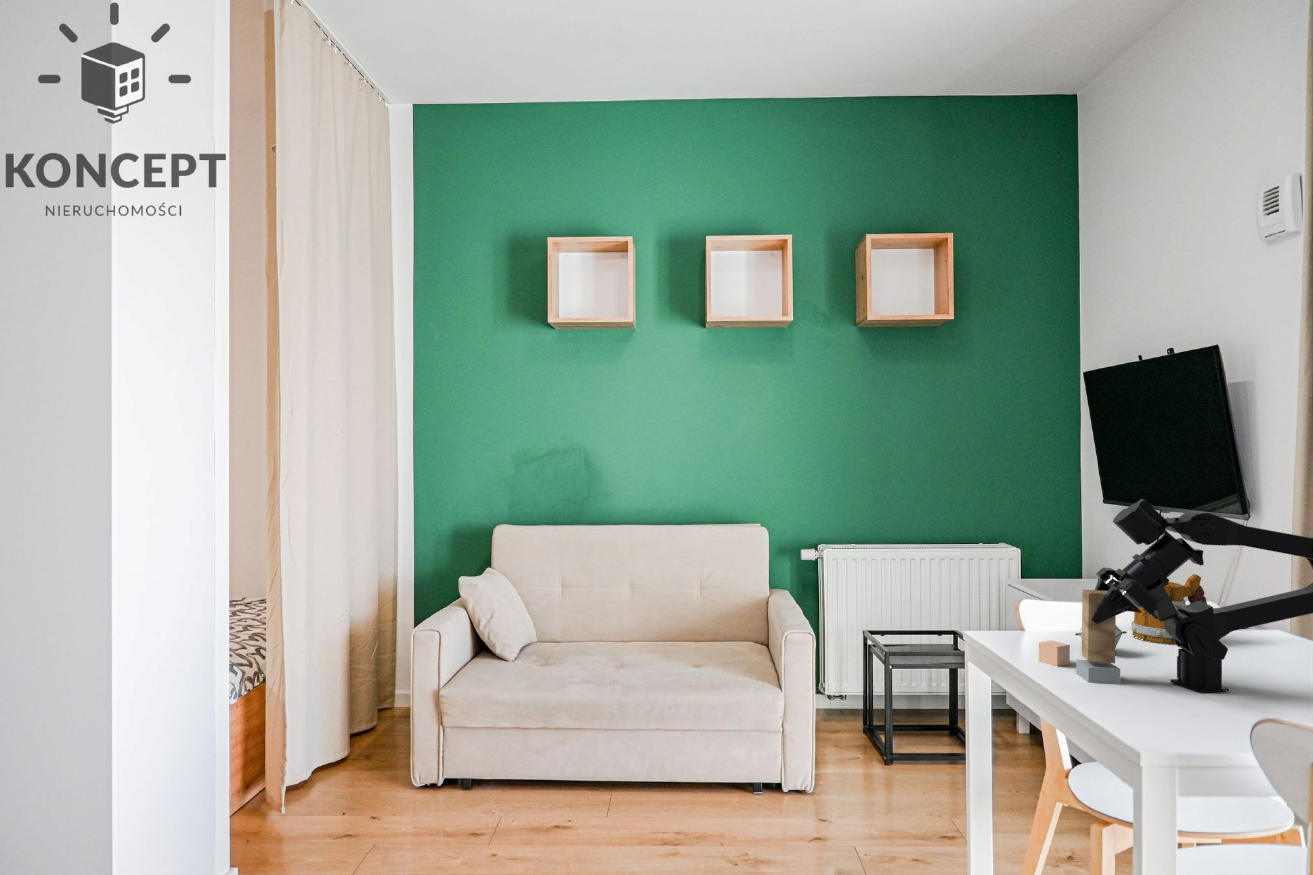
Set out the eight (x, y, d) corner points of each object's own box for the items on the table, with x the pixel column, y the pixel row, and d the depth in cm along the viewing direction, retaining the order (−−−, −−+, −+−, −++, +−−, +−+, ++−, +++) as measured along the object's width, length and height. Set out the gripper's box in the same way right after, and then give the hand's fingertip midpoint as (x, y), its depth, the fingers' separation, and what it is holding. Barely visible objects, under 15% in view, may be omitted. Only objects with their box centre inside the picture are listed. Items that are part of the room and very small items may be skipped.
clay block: (1069, 664, 157) (1069, 644, 157) (1057, 667, 155) (1057, 646, 155) (1051, 659, 160) (1051, 640, 161) (1038, 662, 158) (1038, 642, 159)
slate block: (1106, 676, 149) (1107, 660, 149) (1120, 685, 144) (1120, 668, 144) (1076, 675, 150) (1076, 659, 150) (1088, 683, 145) (1088, 667, 145)
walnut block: (1108, 657, 149) (1108, 591, 149) (1115, 663, 144) (1115, 594, 145) (1081, 655, 150) (1082, 589, 150) (1087, 660, 145) (1088, 592, 146)
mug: (1119, 632, 186) (1120, 569, 186) (1191, 634, 185) (1191, 570, 186) (1146, 644, 175) (1147, 576, 175) (1222, 646, 174) (1222, 578, 175)
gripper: (1213, 605, 134) (1140, 665, 137) (1173, 587, 152) (1109, 640, 155) (1161, 557, 136) (1090, 616, 139) (1128, 545, 154) (1065, 598, 157)
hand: (1090, 619), depth 148 cm, fingers open, 5 cm apart
